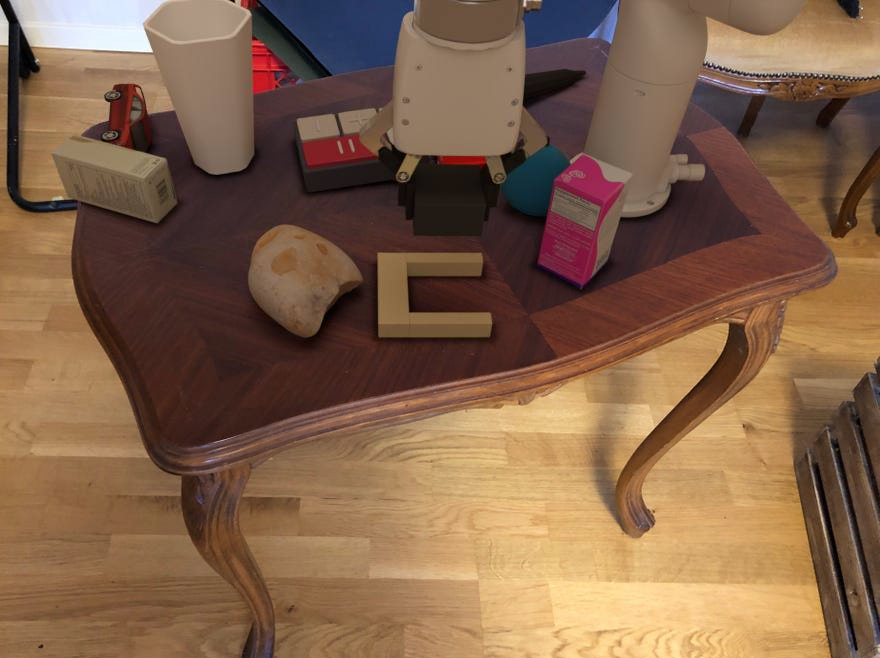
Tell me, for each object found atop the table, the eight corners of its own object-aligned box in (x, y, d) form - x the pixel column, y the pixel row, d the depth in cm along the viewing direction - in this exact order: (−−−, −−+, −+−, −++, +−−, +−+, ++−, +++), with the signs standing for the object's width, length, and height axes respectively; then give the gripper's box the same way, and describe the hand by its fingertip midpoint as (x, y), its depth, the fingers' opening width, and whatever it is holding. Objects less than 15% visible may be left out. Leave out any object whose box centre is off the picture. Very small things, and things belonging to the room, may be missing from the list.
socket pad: (479, 266, 76) (481, 252, 75) (489, 337, 70) (492, 323, 68) (377, 266, 76) (377, 252, 74) (378, 337, 69) (378, 323, 68)
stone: (226, 250, 73) (267, 190, 70) (308, 285, 80) (349, 231, 77) (251, 335, 64) (299, 270, 61) (341, 367, 71) (389, 309, 68)
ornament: (570, 209, 83) (590, 133, 76) (561, 233, 80) (581, 156, 73) (503, 191, 85) (515, 116, 77) (491, 214, 82) (503, 138, 75)
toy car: (115, 123, 94) (154, 118, 95) (111, 184, 84) (154, 178, 85) (103, 82, 90) (143, 78, 91) (97, 141, 80) (142, 136, 81)
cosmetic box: (168, 157, 77) (74, 130, 80) (144, 178, 75) (48, 149, 77) (179, 205, 82) (90, 178, 85) (157, 227, 80) (66, 198, 82)
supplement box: (561, 239, 80) (584, 150, 71) (608, 262, 77) (638, 174, 69) (533, 265, 77) (553, 176, 68) (581, 291, 74) (608, 202, 66)
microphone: (568, 91, 106) (468, 116, 96) (571, 49, 103) (468, 71, 93) (598, 95, 102) (496, 122, 92) (601, 52, 99) (497, 75, 90)
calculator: (291, 115, 88) (409, 98, 90) (296, 145, 91) (410, 128, 93) (302, 167, 81) (430, 147, 83) (307, 197, 84) (430, 178, 86)
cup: (183, 189, 83) (147, 47, 70) (173, 142, 90) (138, 3, 76) (277, 173, 86) (259, 33, 73) (261, 128, 92) (242, -9, 79)
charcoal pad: (475, 195, 66) (479, 164, 64) (481, 236, 63) (486, 205, 60) (411, 194, 66) (412, 163, 64) (413, 236, 62) (415, 204, 60)
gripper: (577, -13, 53) (534, 187, 67) (346, -19, 52) (350, 185, 66) (597, 33, 48) (546, 239, 62) (343, 27, 48) (349, 237, 61)
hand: (445, 209), depth 64 cm, fingers closed on charcoal pad, 6 cm apart
